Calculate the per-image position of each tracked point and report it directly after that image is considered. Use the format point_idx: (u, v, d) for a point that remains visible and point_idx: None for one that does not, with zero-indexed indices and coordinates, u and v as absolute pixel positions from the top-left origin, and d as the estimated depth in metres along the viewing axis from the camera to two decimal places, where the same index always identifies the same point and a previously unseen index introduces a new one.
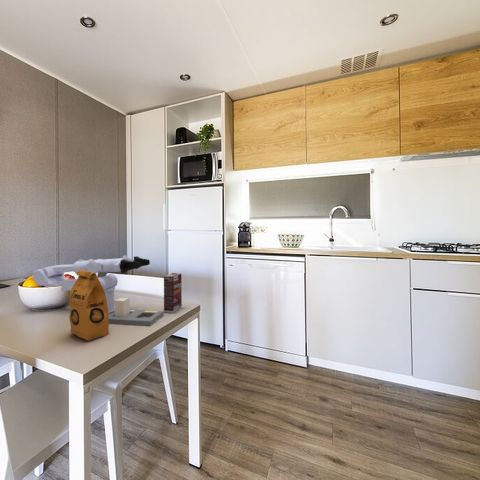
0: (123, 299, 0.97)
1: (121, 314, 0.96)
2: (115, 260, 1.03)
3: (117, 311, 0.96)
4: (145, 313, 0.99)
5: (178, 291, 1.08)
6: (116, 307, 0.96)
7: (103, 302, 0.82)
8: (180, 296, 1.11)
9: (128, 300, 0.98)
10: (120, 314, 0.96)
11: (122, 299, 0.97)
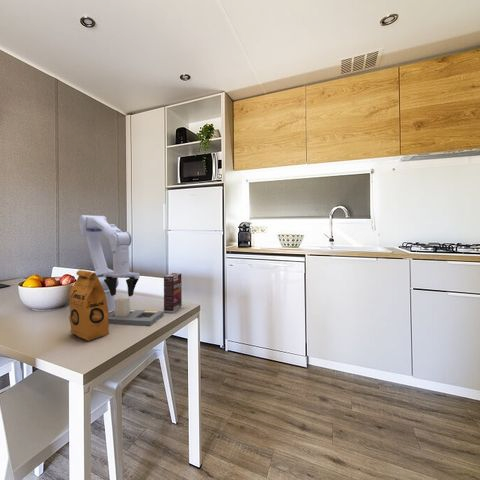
0: (123, 299, 0.97)
1: (121, 314, 0.96)
2: (113, 266, 0.95)
3: (117, 311, 0.96)
4: (145, 313, 0.99)
5: (178, 291, 1.08)
6: (116, 307, 0.96)
7: (103, 302, 0.82)
8: (180, 296, 1.11)
9: (128, 300, 0.98)
10: (120, 314, 0.96)
11: (122, 299, 0.97)
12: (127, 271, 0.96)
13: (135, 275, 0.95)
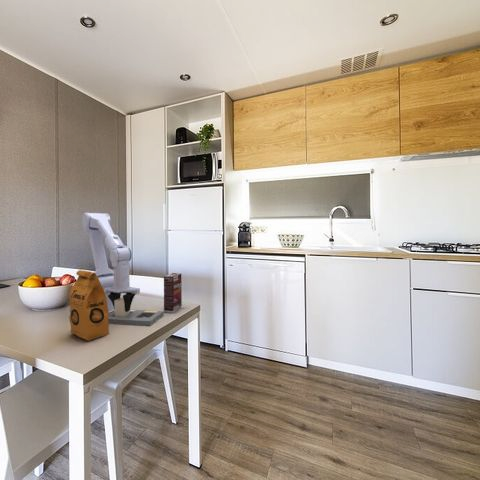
0: (123, 299, 0.97)
1: (121, 314, 0.96)
2: (114, 282, 0.95)
3: (117, 311, 0.96)
4: (145, 313, 0.99)
5: (178, 291, 1.08)
6: (116, 307, 0.96)
7: (103, 302, 0.82)
8: (180, 296, 1.11)
9: None
10: (120, 313, 0.96)
11: (122, 299, 0.97)
12: (127, 286, 0.96)
13: (135, 291, 0.95)
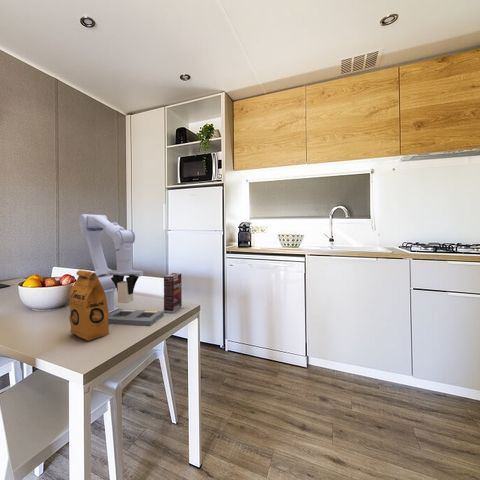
0: (126, 282, 0.96)
1: (124, 297, 0.95)
2: (117, 264, 0.94)
3: (120, 294, 0.95)
4: (145, 313, 0.99)
5: (178, 291, 1.08)
6: (119, 290, 0.95)
7: (103, 302, 0.82)
8: (180, 296, 1.11)
9: None
10: (123, 296, 0.95)
11: (125, 282, 0.96)
12: (130, 269, 0.96)
13: (139, 273, 0.95)
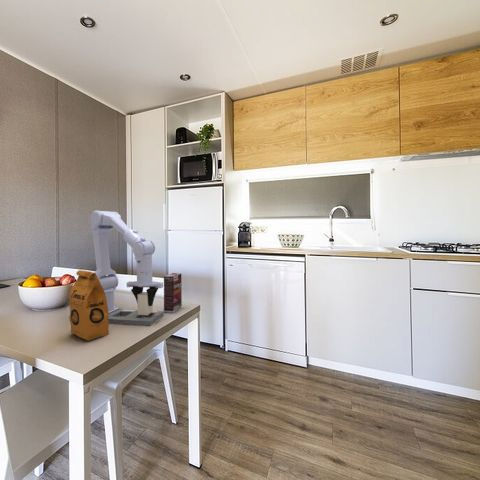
0: (146, 293, 0.95)
1: (144, 309, 0.94)
2: (137, 276, 0.93)
3: (140, 306, 0.94)
4: None
5: (178, 291, 1.08)
6: (139, 301, 0.94)
7: (103, 302, 0.82)
8: (180, 296, 1.11)
9: None
10: (143, 308, 0.94)
11: (145, 293, 0.95)
12: (151, 281, 0.95)
13: (159, 285, 0.94)
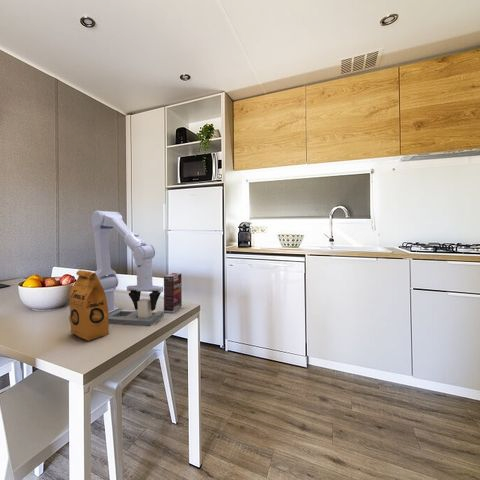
0: (146, 300, 0.95)
1: (144, 315, 0.94)
2: (137, 280, 0.94)
3: (140, 312, 0.94)
4: None
5: (178, 291, 1.08)
6: (139, 308, 0.94)
7: (103, 302, 0.82)
8: (180, 296, 1.11)
9: None
10: (143, 315, 0.94)
11: (145, 300, 0.96)
12: (151, 285, 0.95)
13: (159, 289, 0.94)
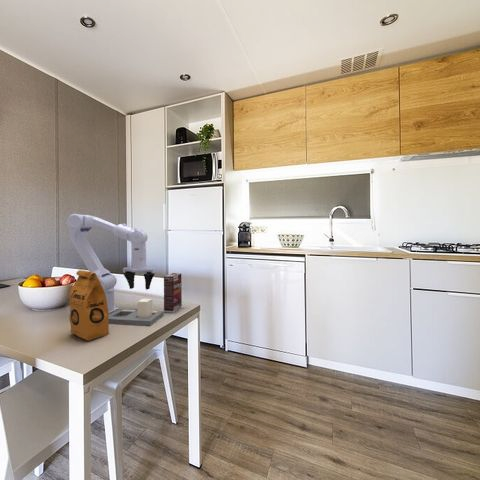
0: (146, 300, 0.95)
1: (144, 315, 0.94)
2: (132, 261, 1.04)
3: (140, 312, 0.94)
4: None
5: (178, 291, 1.08)
6: (139, 308, 0.94)
7: (103, 302, 0.82)
8: (180, 296, 1.11)
9: (151, 301, 0.97)
10: (143, 315, 0.94)
11: (145, 300, 0.96)
12: (144, 266, 1.06)
13: (152, 270, 1.04)
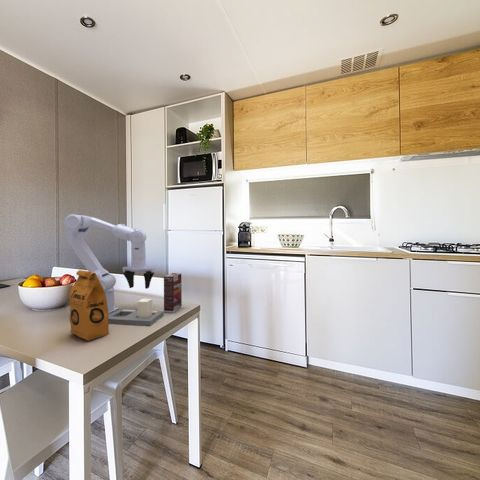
0: (146, 300, 0.95)
1: (144, 315, 0.94)
2: (132, 261, 1.05)
3: (140, 312, 0.94)
4: None
5: (178, 291, 1.08)
6: (139, 308, 0.94)
7: (103, 302, 0.82)
8: (180, 296, 1.11)
9: (151, 301, 0.97)
10: (143, 315, 0.94)
11: (145, 300, 0.96)
12: (144, 266, 1.07)
13: (151, 269, 1.06)
